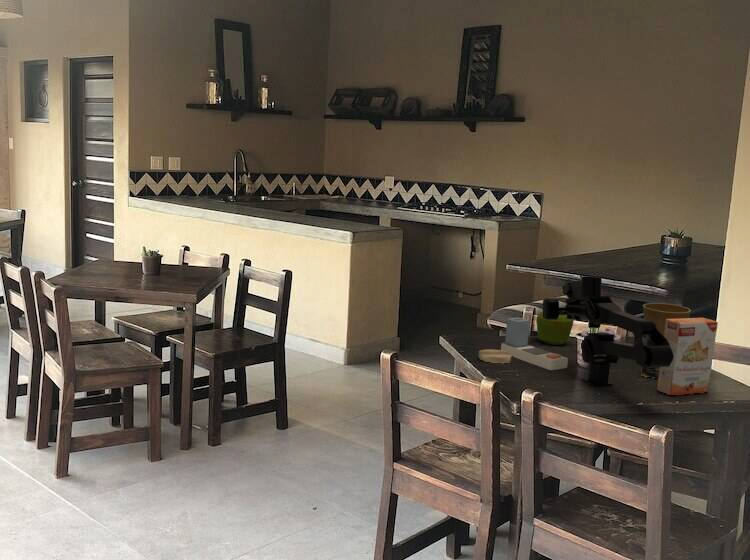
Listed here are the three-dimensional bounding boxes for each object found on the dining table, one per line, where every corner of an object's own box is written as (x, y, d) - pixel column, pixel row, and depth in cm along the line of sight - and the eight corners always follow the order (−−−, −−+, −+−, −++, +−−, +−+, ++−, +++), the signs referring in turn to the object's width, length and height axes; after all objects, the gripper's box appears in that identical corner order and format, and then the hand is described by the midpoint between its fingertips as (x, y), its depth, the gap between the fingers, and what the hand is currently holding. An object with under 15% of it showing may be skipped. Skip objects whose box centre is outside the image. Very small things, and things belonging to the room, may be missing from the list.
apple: (538, 336, 284) (541, 305, 282) (573, 341, 279) (576, 309, 277) (531, 343, 272) (534, 311, 270) (567, 349, 268) (570, 316, 266)
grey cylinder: (527, 345, 256) (529, 320, 255) (515, 346, 254) (518, 321, 252) (516, 341, 260) (518, 317, 259) (505, 342, 258) (507, 318, 256)
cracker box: (671, 397, 220) (680, 323, 216) (655, 390, 225) (664, 318, 222) (709, 393, 225) (719, 321, 222) (693, 387, 231) (702, 316, 227)
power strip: (566, 367, 244) (568, 355, 243) (550, 370, 240) (551, 358, 240) (516, 350, 262) (517, 338, 262) (500, 352, 258) (501, 340, 258)
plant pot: (640, 346, 278) (645, 301, 275) (686, 353, 272) (692, 306, 269) (635, 355, 264) (640, 307, 262) (683, 362, 258) (689, 314, 256)
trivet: (515, 364, 245) (516, 357, 245) (485, 364, 243) (485, 358, 242) (503, 355, 255) (503, 349, 254) (473, 355, 252) (474, 349, 252)
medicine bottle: (640, 376, 239) (645, 337, 237) (641, 371, 245) (646, 332, 243) (666, 380, 236) (671, 341, 234) (666, 374, 243) (671, 336, 241)
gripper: (612, 283, 239) (584, 281, 253) (557, 283, 233) (531, 281, 248) (612, 320, 239) (583, 316, 254) (556, 321, 233) (530, 317, 248)
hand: (557, 307), depth 251 cm, fingers open, 9 cm apart
